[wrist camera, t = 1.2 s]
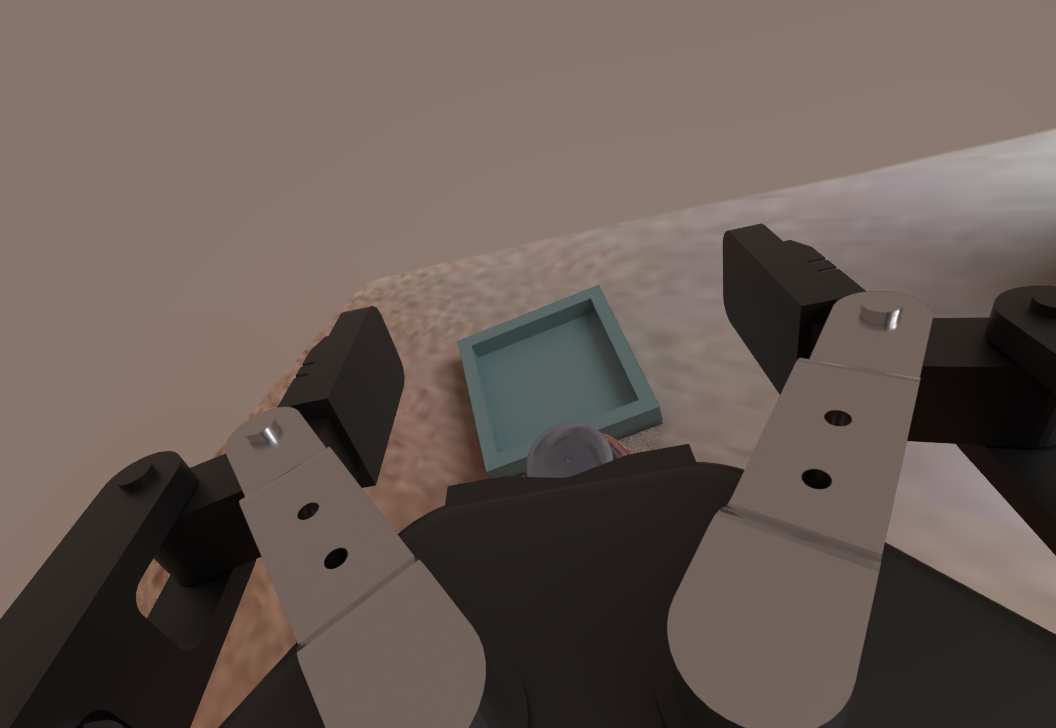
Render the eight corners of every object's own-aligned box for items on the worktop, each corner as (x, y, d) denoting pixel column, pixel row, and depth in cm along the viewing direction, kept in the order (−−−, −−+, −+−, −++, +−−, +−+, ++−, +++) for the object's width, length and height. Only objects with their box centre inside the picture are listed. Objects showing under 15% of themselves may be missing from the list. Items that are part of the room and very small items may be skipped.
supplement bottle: (541, 545, 33) (477, 471, 24) (601, 473, 35) (561, 380, 26) (616, 613, 30) (572, 556, 21) (679, 530, 31) (663, 445, 22)
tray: (603, 303, 43) (598, 285, 41) (662, 423, 35) (659, 406, 34) (467, 357, 44) (457, 341, 42) (497, 485, 36) (486, 472, 35)
